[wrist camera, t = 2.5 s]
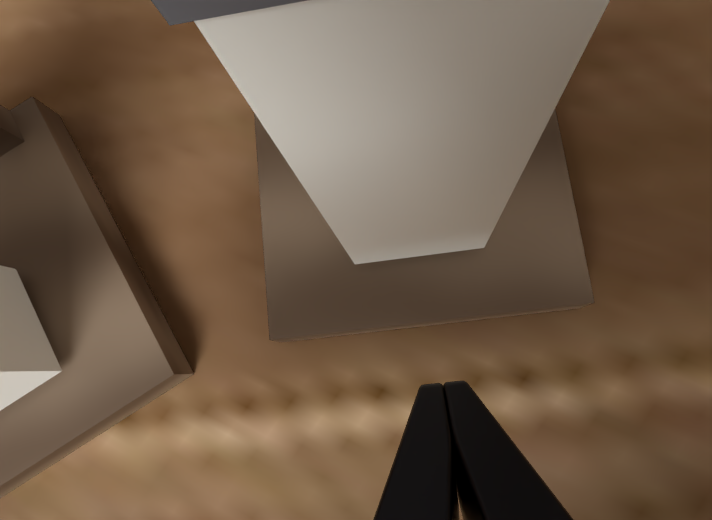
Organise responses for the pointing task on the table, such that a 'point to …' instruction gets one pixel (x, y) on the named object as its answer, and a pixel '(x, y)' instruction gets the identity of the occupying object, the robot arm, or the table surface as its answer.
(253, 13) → the post
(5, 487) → the base
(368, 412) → the table surface
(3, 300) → the post
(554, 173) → the base
